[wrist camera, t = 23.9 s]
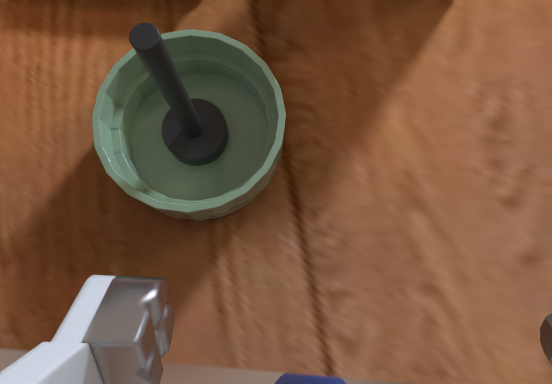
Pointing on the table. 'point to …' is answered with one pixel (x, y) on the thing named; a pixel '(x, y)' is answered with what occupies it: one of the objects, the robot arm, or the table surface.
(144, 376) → the robot arm
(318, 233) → the table surface
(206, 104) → the dark post stand
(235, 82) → the bowl
